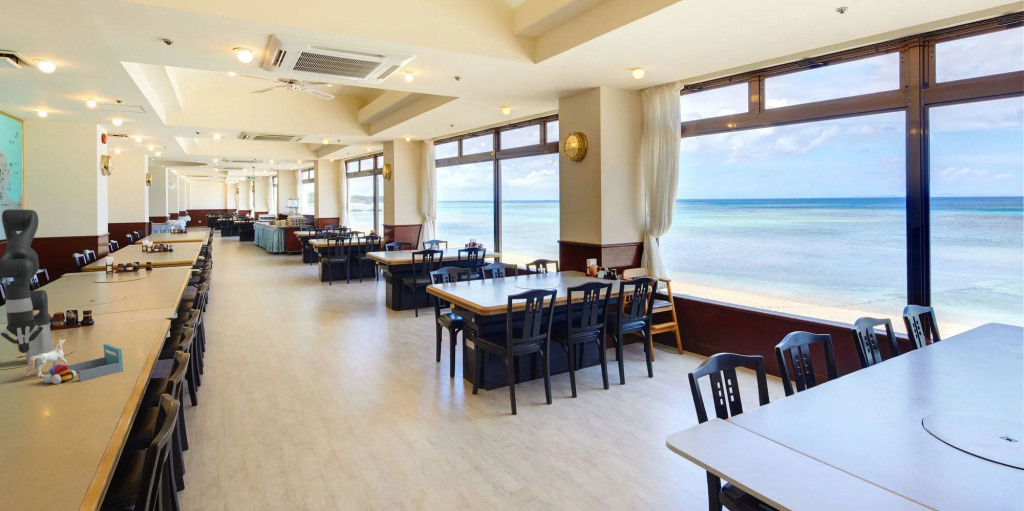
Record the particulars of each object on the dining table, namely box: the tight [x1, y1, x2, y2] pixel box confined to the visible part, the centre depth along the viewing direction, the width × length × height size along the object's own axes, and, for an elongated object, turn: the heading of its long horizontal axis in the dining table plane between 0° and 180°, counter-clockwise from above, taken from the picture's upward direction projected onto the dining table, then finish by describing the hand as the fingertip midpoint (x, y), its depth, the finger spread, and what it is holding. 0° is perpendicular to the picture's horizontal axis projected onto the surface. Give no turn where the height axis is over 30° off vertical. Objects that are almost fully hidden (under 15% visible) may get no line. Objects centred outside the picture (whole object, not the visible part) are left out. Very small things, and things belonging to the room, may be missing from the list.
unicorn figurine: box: [25, 336, 68, 378], centre depth 224 cm, size 7×20×13 cm, turn 4°
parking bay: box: [66, 343, 124, 382], centre depth 224 cm, size 15×15×10 cm
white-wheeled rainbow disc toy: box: [42, 363, 77, 385], centre depth 215 cm, size 8×10×7 cm
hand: (24, 352), depth 205 cm, fingers closed
